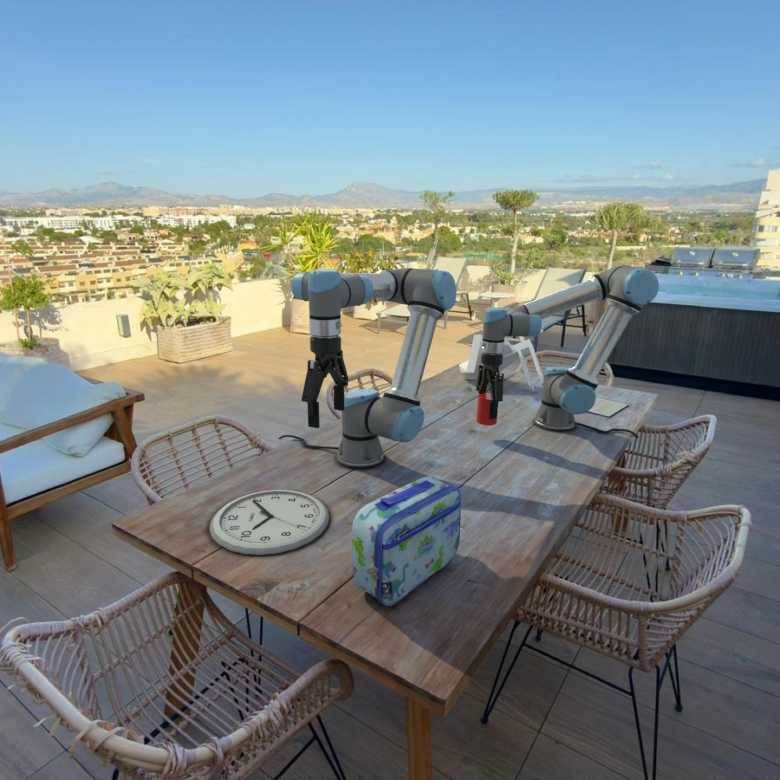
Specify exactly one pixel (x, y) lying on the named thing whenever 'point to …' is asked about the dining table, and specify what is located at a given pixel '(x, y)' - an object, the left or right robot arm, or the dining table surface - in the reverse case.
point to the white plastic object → (509, 357)
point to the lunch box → (405, 538)
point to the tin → (484, 410)
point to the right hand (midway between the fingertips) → (487, 414)
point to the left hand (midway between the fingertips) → (327, 418)
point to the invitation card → (606, 407)
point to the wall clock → (269, 522)
